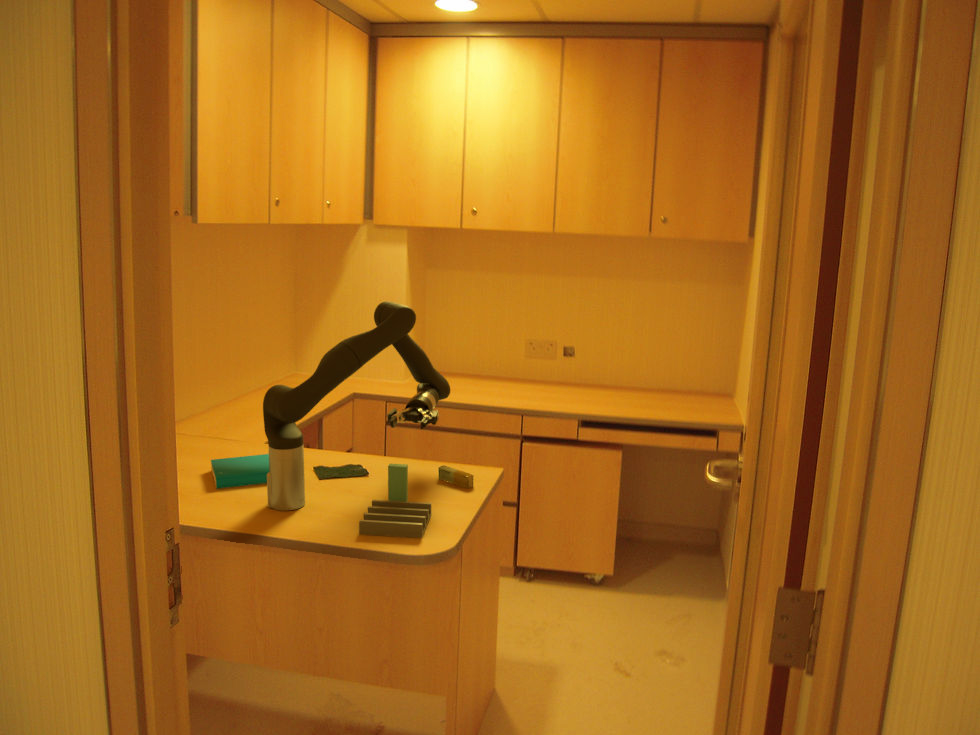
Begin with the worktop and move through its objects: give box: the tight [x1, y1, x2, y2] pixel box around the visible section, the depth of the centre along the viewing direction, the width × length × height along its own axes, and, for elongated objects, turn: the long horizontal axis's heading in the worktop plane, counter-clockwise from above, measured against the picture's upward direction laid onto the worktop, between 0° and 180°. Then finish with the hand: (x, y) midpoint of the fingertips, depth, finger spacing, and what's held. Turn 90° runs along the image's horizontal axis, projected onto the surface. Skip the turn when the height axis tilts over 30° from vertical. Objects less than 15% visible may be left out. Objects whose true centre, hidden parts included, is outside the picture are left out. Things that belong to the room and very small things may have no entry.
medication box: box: [438, 465, 474, 489], centre depth 247 cm, size 12×3×4 cm, turn 51°
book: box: [210, 453, 269, 489], centre depth 250 cm, size 17×4×25 cm
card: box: [387, 463, 409, 502], centre depth 226 cm, size 5×2×12 cm, turn 85°
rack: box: [358, 499, 432, 539], centre depth 215 cm, size 16×15×4 cm
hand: (407, 425), depth 233 cm, fingers open, 8 cm apart
